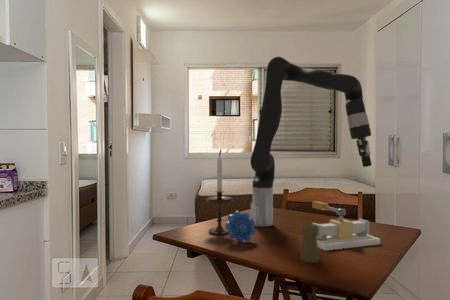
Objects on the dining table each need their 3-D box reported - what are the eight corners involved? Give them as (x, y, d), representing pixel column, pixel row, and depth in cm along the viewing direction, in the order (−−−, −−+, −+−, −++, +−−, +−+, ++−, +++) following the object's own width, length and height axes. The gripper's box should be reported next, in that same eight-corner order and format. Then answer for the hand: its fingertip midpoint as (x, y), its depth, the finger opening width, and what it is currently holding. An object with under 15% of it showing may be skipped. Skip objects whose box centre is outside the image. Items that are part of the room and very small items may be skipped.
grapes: (228, 246, 126) (228, 213, 126) (224, 241, 132) (224, 210, 132) (259, 244, 129) (259, 212, 128) (253, 239, 135) (253, 208, 135)
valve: (324, 250, 121) (325, 221, 121) (303, 240, 135) (303, 213, 134) (380, 244, 129) (380, 216, 129) (354, 234, 143) (354, 209, 142)
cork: (297, 256, 115) (297, 223, 115) (315, 256, 116) (315, 223, 116) (303, 262, 109) (303, 227, 109) (322, 262, 110) (322, 227, 110)
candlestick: (227, 228, 152) (227, 148, 152) (236, 234, 142) (236, 148, 141) (203, 230, 149) (203, 148, 148) (210, 236, 139) (210, 148, 138)
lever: (340, 216, 130) (340, 209, 130) (312, 207, 147) (312, 201, 147) (347, 215, 131) (347, 208, 131) (318, 206, 148) (318, 201, 148)
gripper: (351, 129, 146) (359, 167, 144) (346, 126, 133) (354, 168, 131) (370, 125, 142) (379, 164, 141) (366, 122, 130) (376, 165, 128)
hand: (367, 166), depth 136 cm, fingers open, 8 cm apart
